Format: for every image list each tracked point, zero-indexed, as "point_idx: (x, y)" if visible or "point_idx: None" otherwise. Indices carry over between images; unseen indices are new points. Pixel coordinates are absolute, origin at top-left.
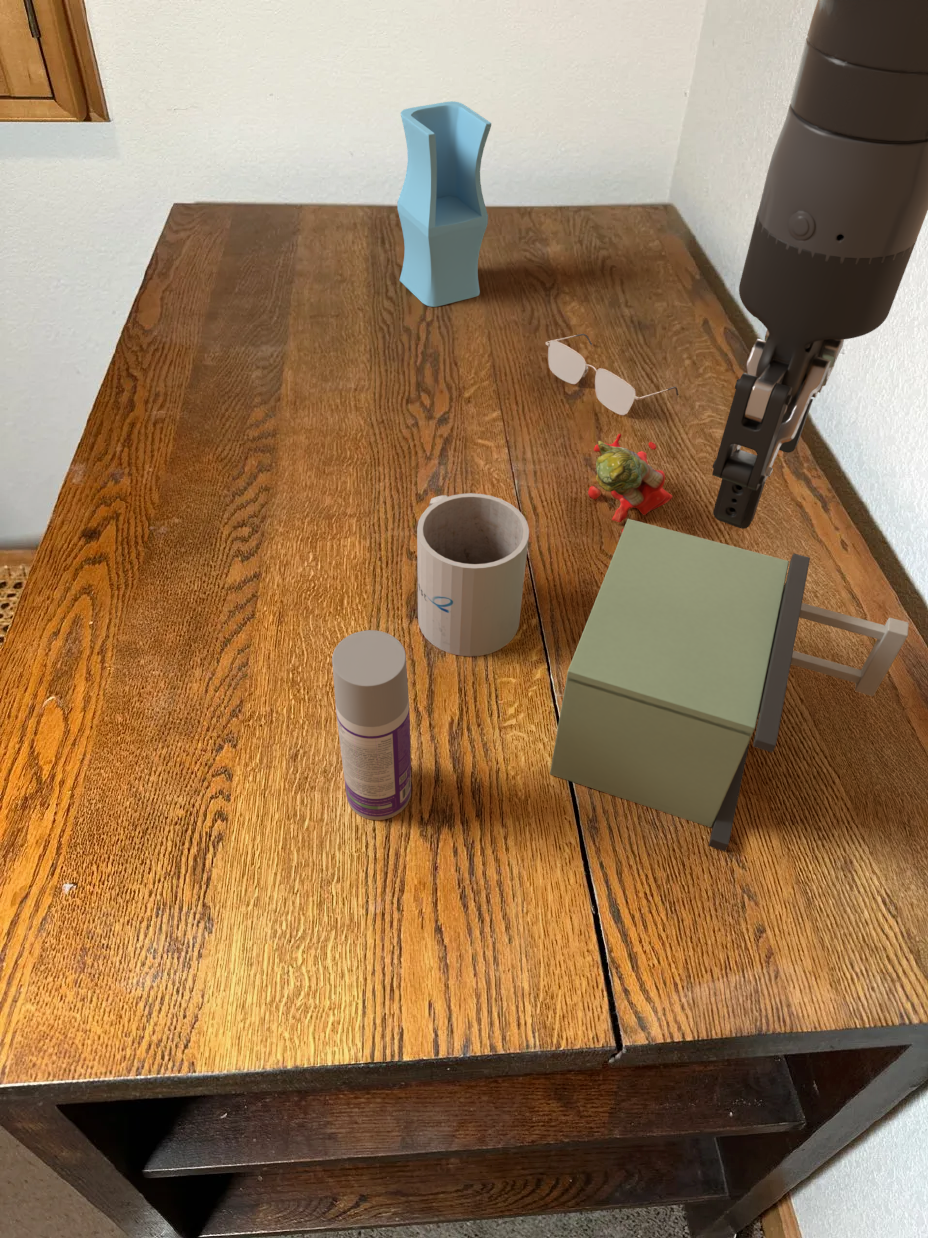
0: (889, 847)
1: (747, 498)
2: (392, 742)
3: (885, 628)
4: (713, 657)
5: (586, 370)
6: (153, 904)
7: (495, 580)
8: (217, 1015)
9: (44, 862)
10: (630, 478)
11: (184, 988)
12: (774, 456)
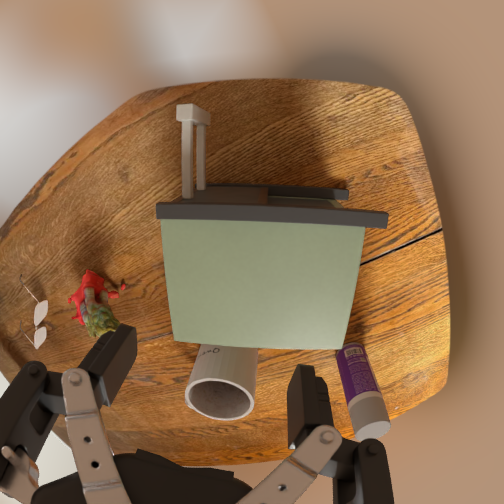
0: (310, 94)
1: (331, 412)
2: (376, 385)
3: (185, 120)
4: (302, 264)
5: (38, 327)
6: (402, 389)
7: (245, 378)
8: (436, 357)
9: (388, 415)
10: (108, 318)
11: (428, 368)
12: (319, 453)
